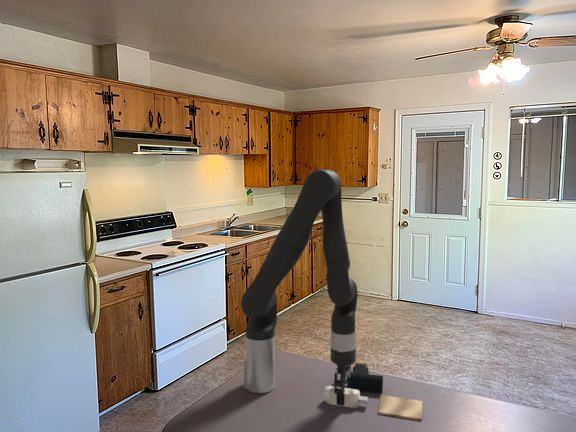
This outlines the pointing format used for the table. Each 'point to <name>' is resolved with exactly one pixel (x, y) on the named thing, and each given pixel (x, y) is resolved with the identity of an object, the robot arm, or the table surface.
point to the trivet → (400, 407)
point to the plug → (345, 397)
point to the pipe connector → (364, 379)
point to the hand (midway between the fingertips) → (343, 397)
